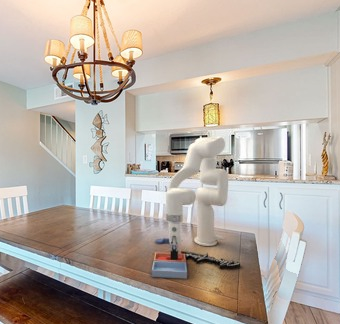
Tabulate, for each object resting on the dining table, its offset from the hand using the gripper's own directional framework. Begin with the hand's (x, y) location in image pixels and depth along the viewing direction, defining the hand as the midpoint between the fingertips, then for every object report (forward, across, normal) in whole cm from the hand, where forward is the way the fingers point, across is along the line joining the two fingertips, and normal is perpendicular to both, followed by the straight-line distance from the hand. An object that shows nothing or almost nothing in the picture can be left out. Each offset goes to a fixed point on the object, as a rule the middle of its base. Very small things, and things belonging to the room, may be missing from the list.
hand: (174, 254), depth 96 cm
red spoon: (+3, 0, +2) cm, 4 cm away
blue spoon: (+4, +23, +5) cm, 24 cm away
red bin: (+4, 0, +2) cm, 4 cm away
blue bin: (+4, -8, +2) cm, 10 cm away
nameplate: (+4, +3, -16) cm, 17 cm away
